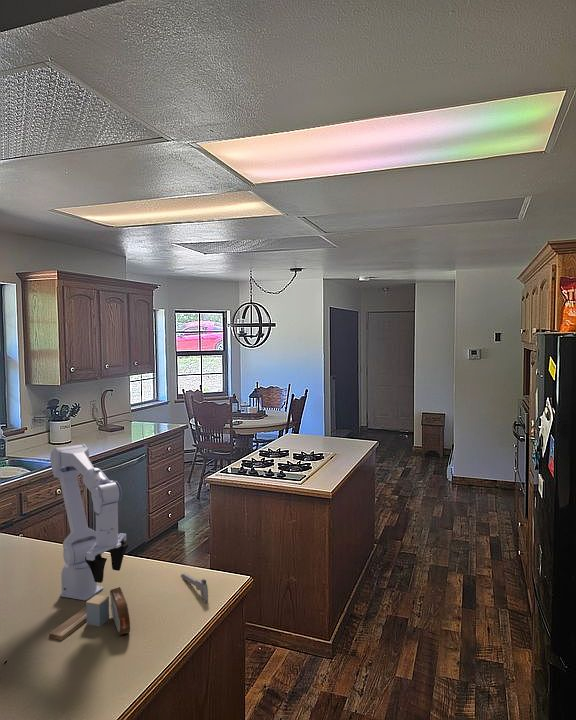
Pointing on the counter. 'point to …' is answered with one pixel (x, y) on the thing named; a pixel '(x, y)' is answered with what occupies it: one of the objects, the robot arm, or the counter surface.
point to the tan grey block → (97, 610)
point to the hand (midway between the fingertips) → (107, 575)
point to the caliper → (198, 585)
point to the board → (69, 625)
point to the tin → (120, 611)
